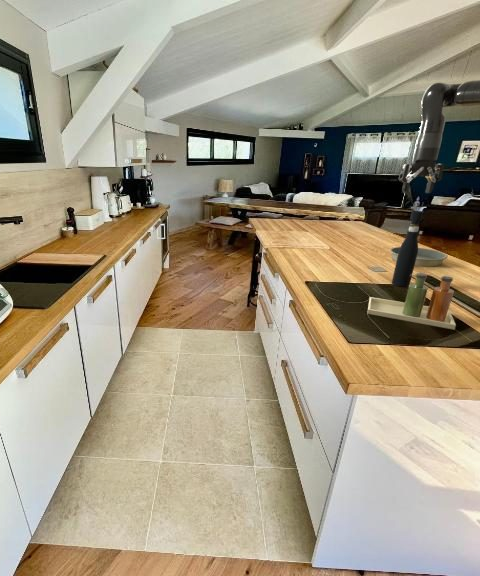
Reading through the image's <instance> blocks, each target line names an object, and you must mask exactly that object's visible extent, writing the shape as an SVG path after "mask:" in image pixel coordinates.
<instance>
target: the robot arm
mask: <svg viewBox="0 0 480 576" xmlns="http://www.w3.org/2000/svg"><path fill="white" fill-rule="evenodd" d="M458 106H460V107H470V106H471V107H472V106H473V107H474V106H475V107H477V106H480V79H477V80H469V81H465V82H463V83H446V82H435V83H432V84H431V85H429V86H428V87H427V88H426V90H425V91H424V93H423V96H422V99H421V124H420V127H419V130H418V136H417V138H416V142H415V145H414V150H413V156H412V160H411V161H412V162H411V164H408V163H405V164H402V165H401V171H400V173H399V177H398V181H399V182H402V183H403V184H402V188H401V192H402V193H403V194H408V193H409V189H410V185H411V183H410V182H411V181H412V180H413V179H415V178H416V177H425V178H426V179H427V183H426V187H425V194H431V193H432V192H433V190H434V186H435V183H436V182H440V181H441V180H442V178H443V173H444V167H445V164H444V163H436V161H437V160H438V156H439V153H440V149H441V144H442V140H443V133H444V128H445V124H446V119H447V117H446V115H445V114H444V113H443V108H453V107H458ZM433 170H434V171H433ZM409 171H410V172H409ZM408 172H409V173H408Z"/></svg>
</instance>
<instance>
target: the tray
mask: <svg viewBox="0 0 480 576" xmlns="http://www.w3.org/2000/svg"><path fill="white" fill-rule="evenodd" d="M368 299H369V300H368V306H367V311H366V312H367V315H373V316H378V317H384V318H388V319H389V318H390V319H395V320H399V321H405V322H412V323H416V324H422V325H427V326H431V327H437V328H438V327H439V328H444V329H448V330H456V327H457V324H456V321H455V319H454V317H453V314H452V312H451V310H450V309H448V313H447V316H446V319H445V321H444V322H440V321H434V320H429V319H427V318H426V314H427V310H428V307H429V305H423V308H422V312H421V315H420V317H412V316H406V315H404V314H403V313H402V312H403V308H404V304H405V301H404V302H403V301H397V300H391V299H384V298H379V297H372V296H369V298H368Z"/></svg>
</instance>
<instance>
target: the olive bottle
mask: <svg viewBox="0 0 480 576" xmlns="http://www.w3.org/2000/svg"><path fill="white" fill-rule="evenodd" d="M427 277H428V275H427V274H426V273H422V272H417V273H415V280H414V283H410V284H409V286H408V287H407V291H406V296H405V299H404V303H405V304H404V308H403V312H402V313H403V314H404V315H406V316H412V317H420V315H421V312H422V308H423V306H425V305H424V304H425V301H426V297H427V293H428V289H429V287H428V286H427V285H425V282H426V279H427Z"/></svg>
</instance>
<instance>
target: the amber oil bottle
mask: <svg viewBox="0 0 480 576" xmlns="http://www.w3.org/2000/svg"><path fill="white" fill-rule="evenodd" d="M453 280H454V278H453V277H452V276H447V275H441V277H440V283H439V286H435V287H433V290H432V293H431V295H430V296H431V297H430V300H429V303H428V306H429V307H428V310H427V314H426V318H427V319H429V320H434V321H440V322H444V321H445V319H446V316H447V313H448V310H450V306H451V302H452V299H453V297H454V294H455V290H453V289H452V288H451V284H452V282H453Z"/></svg>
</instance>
